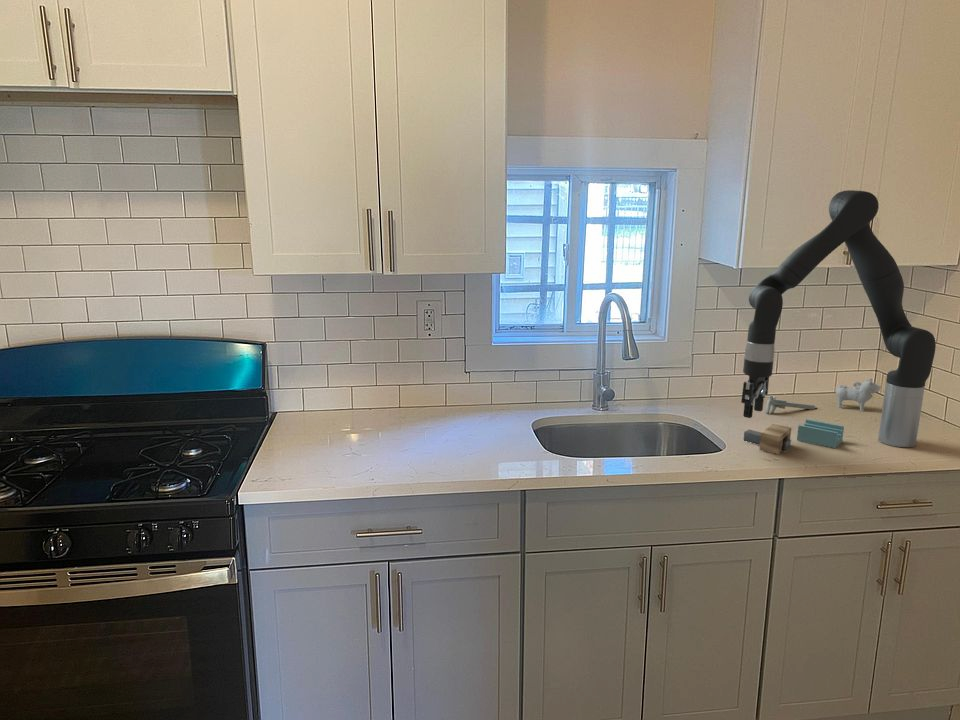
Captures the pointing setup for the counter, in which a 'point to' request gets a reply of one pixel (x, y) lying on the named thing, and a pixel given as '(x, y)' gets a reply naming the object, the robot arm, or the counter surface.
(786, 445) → the metal bar
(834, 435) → the block
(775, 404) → the caliper
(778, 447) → the bore block
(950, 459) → the counter surface
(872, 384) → the dog figurine
